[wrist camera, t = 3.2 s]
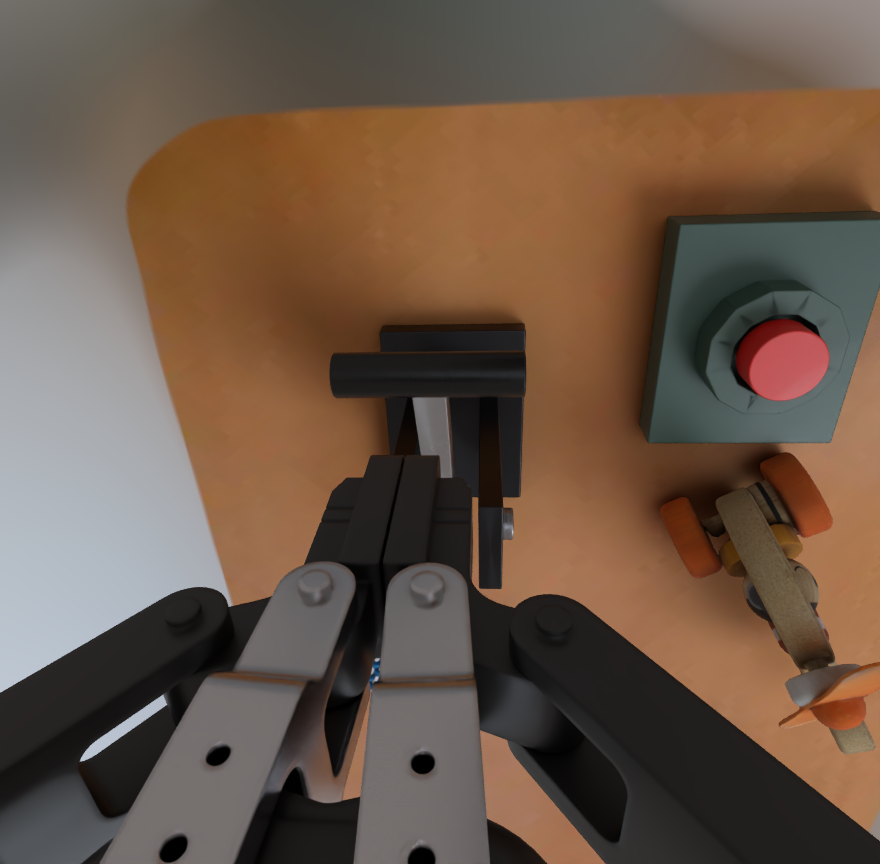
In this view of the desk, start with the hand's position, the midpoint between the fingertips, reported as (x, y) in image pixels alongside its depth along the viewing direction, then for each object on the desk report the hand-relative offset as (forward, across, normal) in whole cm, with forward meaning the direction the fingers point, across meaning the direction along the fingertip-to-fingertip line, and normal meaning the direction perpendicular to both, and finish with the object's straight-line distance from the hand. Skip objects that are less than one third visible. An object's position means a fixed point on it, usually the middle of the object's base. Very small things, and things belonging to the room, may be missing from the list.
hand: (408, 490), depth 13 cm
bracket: (+22, 0, +9) cm, 23 cm away
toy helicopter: (+22, -20, +20) cm, 36 cm away
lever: (+10, 0, +4) cm, 11 cm away
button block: (+22, -16, +4) cm, 27 cm away
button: (+18, -16, +4) cm, 24 cm away
